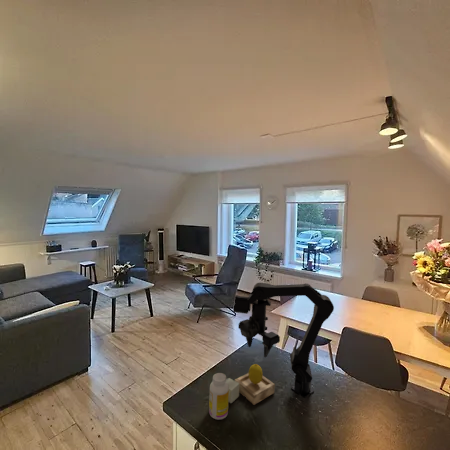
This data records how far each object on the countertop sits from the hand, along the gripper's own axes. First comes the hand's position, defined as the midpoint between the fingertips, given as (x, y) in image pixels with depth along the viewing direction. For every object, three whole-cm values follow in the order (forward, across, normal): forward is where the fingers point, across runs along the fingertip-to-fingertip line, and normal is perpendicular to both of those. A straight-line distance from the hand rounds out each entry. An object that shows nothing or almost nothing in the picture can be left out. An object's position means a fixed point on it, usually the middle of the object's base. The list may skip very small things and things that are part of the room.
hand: (257, 351), depth 104 cm
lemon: (+11, +3, -4) cm, 12 cm away
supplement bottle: (+13, +4, -22) cm, 26 cm away
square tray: (+13, +3, -4) cm, 14 cm away
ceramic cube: (+13, 0, -14) cm, 19 cm away
